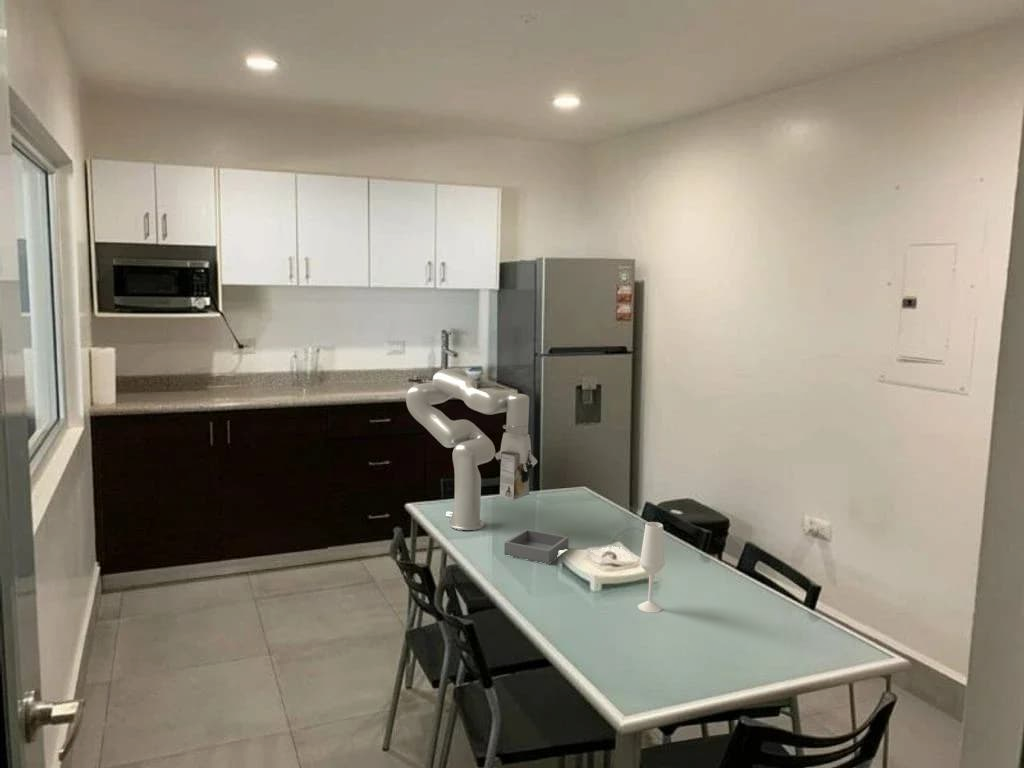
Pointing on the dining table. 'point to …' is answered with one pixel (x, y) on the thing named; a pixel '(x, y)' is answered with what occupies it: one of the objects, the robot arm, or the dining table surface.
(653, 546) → the champagne flute
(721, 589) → the dining table surface
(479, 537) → the dining table surface
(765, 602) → the dining table surface
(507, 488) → the coffee box
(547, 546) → the box
